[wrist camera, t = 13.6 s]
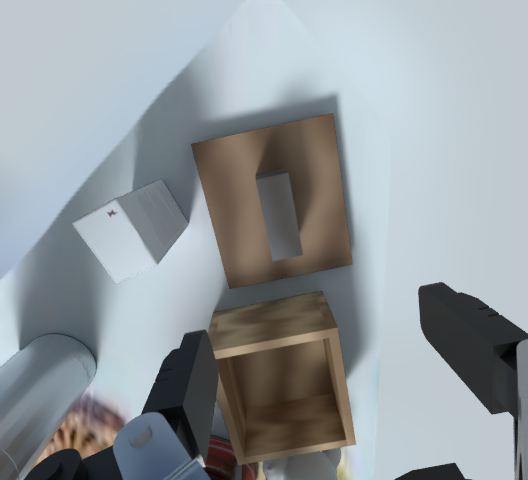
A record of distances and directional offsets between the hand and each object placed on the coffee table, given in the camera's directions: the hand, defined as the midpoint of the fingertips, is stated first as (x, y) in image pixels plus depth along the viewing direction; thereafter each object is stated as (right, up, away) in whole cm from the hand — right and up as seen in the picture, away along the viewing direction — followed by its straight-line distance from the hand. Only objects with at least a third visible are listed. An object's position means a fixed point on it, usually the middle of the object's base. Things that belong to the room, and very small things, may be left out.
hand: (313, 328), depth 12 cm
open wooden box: (0, -12, +30) cm, 32 cm away
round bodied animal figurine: (+3, -27, +35) cm, 45 cm away
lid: (0, +7, +23) cm, 24 cm away
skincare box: (-14, +7, +24) cm, 29 cm away
